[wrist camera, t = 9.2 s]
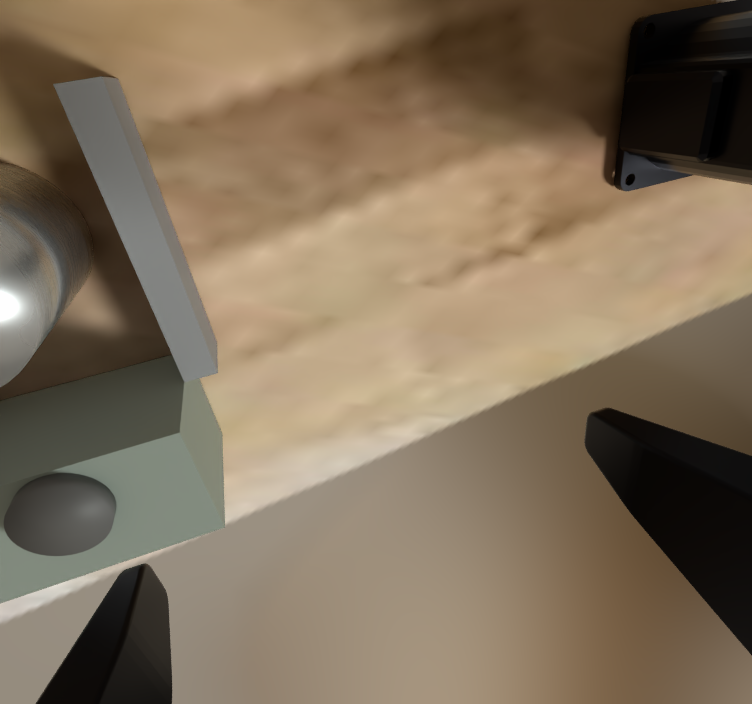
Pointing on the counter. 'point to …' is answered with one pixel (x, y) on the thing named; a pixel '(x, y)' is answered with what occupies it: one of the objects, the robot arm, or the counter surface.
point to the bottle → (36, 263)
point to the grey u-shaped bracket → (115, 399)
